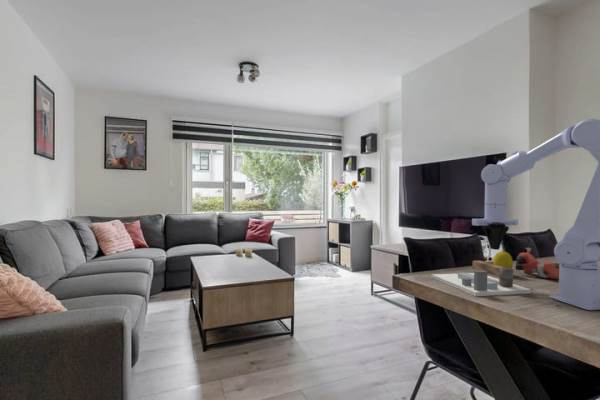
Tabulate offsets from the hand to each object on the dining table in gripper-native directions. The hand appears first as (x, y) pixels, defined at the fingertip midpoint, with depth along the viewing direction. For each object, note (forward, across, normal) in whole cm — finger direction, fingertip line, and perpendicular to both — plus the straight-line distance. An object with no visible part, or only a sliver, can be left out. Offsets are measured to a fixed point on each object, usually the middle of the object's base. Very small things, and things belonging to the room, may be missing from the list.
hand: (494, 249), depth 96 cm
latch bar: (+9, +4, +3) cm, 10 cm away
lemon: (+10, -10, -8) cm, 17 cm away
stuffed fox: (+10, -21, -4) cm, 24 cm away
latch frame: (+10, +8, +2) cm, 13 cm away
